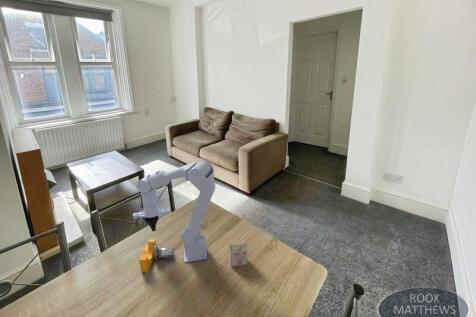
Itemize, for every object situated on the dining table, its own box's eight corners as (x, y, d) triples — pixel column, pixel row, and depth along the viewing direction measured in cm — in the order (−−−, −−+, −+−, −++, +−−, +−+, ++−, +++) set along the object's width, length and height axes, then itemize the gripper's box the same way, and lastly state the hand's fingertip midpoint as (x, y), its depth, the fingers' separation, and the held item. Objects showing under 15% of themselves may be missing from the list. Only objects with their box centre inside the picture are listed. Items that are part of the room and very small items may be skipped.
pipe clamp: (147, 250, 107) (145, 239, 104) (157, 250, 107) (155, 239, 104) (137, 272, 96) (134, 259, 93) (147, 272, 96) (145, 259, 93)
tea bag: (229, 260, 102) (229, 241, 98) (245, 258, 103) (245, 239, 99) (231, 266, 98) (230, 247, 95) (247, 264, 99) (247, 245, 96)
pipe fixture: (172, 250, 107) (171, 239, 105) (172, 260, 101) (170, 248, 99) (155, 252, 105) (154, 241, 103) (155, 263, 100) (153, 251, 98)
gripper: (168, 196, 106) (171, 222, 111) (133, 200, 102) (137, 226, 107) (167, 204, 99) (170, 231, 104) (130, 209, 96) (135, 236, 101)
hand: (154, 229), depth 105 cm, fingers closed
